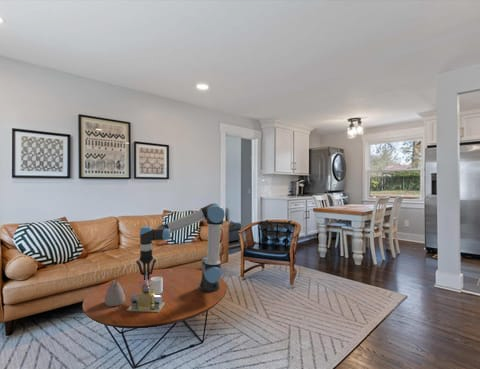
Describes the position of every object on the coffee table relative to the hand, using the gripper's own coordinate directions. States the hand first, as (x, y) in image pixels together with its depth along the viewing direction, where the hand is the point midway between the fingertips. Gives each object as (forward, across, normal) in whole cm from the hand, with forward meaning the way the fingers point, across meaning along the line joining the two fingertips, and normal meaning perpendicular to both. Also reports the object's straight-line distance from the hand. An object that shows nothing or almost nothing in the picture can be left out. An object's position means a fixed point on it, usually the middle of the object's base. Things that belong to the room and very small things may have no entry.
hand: (146, 284), depth 186 cm
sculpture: (+11, +20, -1) cm, 23 cm away
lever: (+1, +1, +3) cm, 4 cm away
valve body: (+12, -1, +8) cm, 14 cm away
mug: (+12, -3, -13) cm, 18 cm away
